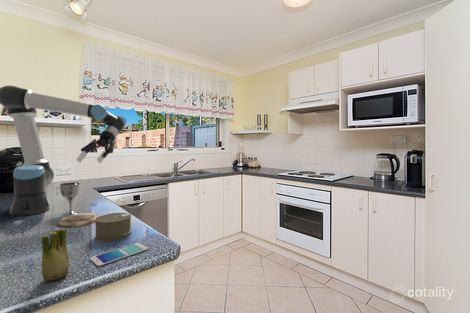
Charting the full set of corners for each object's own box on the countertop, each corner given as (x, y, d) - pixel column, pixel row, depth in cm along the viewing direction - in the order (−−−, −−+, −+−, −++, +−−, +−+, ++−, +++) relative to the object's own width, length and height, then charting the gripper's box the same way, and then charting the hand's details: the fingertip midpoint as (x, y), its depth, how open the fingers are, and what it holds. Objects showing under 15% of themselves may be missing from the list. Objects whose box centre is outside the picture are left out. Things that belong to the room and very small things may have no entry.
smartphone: (149, 248, 75) (98, 266, 63) (149, 250, 75) (98, 269, 63) (138, 242, 80) (88, 257, 68) (138, 244, 80) (88, 260, 68)
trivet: (75, 228, 94) (75, 225, 94) (48, 224, 99) (48, 221, 99) (109, 217, 109) (108, 214, 109) (84, 214, 114) (84, 211, 114)
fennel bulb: (43, 286, 55) (41, 236, 54) (39, 278, 58) (37, 231, 57) (72, 276, 59) (71, 230, 58) (67, 269, 62) (66, 225, 62)
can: (90, 235, 87) (90, 217, 87) (123, 227, 96) (123, 211, 95) (101, 244, 79) (101, 224, 78) (136, 235, 87) (136, 217, 87)
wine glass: (59, 216, 110) (58, 185, 110) (62, 212, 118) (61, 182, 117) (79, 214, 114) (78, 184, 114) (81, 210, 121) (80, 181, 121)
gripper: (130, 139, 139) (111, 166, 125) (95, 139, 145) (74, 165, 131) (123, 129, 134) (103, 156, 120) (88, 130, 140) (65, 156, 126)
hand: (88, 161), depth 125 cm, fingers open, 13 cm apart
